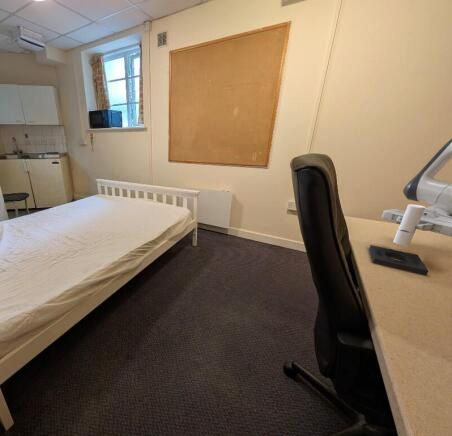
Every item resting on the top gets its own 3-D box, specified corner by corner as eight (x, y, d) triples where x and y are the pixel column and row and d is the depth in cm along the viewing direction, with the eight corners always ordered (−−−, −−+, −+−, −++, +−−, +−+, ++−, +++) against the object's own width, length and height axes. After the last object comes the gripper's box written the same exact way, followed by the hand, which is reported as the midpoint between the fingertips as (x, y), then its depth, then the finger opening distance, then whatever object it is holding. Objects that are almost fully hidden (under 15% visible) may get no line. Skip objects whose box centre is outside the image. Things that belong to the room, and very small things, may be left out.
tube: (403, 241, 85) (419, 204, 80) (412, 246, 82) (429, 208, 76) (390, 240, 86) (405, 203, 81) (398, 245, 83) (413, 207, 77)
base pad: (415, 258, 87) (417, 254, 87) (426, 275, 77) (428, 270, 76) (368, 248, 95) (370, 244, 95) (372, 262, 85) (374, 258, 84)
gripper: (395, 204, 94) (376, 208, 89) (472, 220, 76) (453, 226, 71) (390, 218, 96) (371, 222, 91) (463, 236, 78) (445, 243, 73)
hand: (408, 224), depth 81 cm, fingers closed on tube, 4 cm apart
